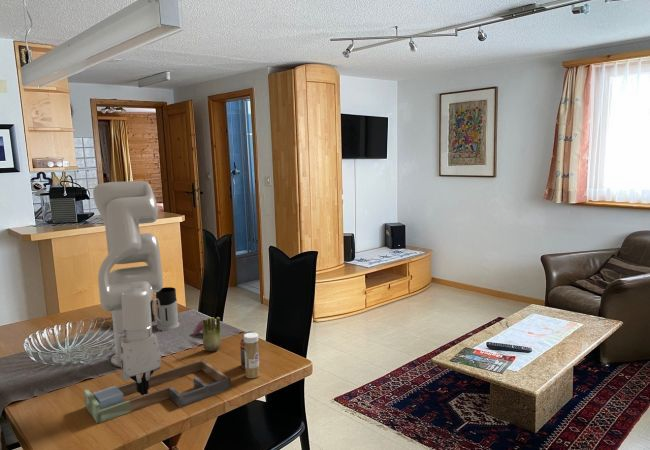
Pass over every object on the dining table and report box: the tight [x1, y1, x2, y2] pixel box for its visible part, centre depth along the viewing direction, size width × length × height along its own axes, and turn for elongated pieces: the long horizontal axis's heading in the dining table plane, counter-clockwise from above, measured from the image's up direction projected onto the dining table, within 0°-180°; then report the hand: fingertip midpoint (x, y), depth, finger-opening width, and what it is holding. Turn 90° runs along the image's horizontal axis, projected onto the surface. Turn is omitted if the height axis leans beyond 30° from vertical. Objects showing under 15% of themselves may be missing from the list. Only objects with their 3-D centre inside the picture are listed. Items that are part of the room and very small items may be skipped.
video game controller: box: [193, 318, 216, 336], centre depth 186 cm, size 10×5×7 cm, turn 59°
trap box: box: [83, 359, 232, 424], centre depth 140 cm, size 18×36×5 cm, turn 131°
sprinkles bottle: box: [244, 332, 261, 379], centre depth 151 cm, size 5×5×14 cm
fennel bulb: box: [202, 316, 222, 352], centre depth 171 cm, size 6×5×12 cm
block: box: [92, 385, 125, 409], centre depth 133 cm, size 6×6×5 cm
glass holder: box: [152, 286, 180, 331], centre depth 192 cm, size 9×14×15 cm, turn 168°
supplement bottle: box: [239, 330, 260, 370], centre depth 158 cm, size 6×6×11 cm
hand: (143, 392), depth 140 cm, fingers closed
